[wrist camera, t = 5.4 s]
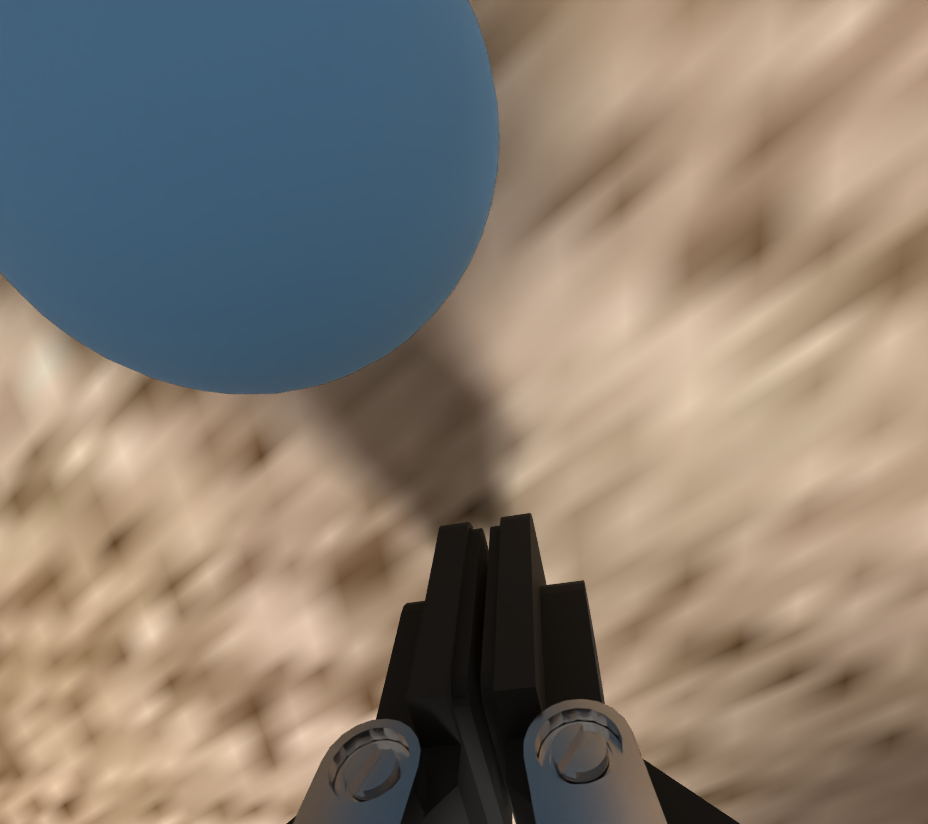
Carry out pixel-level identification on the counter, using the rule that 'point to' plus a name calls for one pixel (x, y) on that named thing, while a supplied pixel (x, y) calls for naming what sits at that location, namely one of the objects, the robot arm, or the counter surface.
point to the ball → (243, 178)
